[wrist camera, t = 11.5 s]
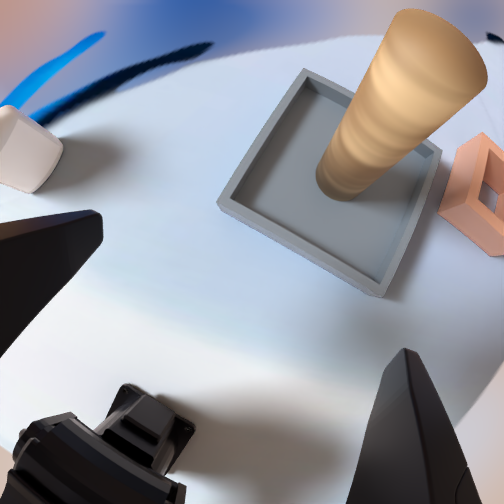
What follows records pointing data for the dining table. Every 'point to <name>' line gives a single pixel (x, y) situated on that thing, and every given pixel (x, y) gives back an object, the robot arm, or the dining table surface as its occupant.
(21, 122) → the eye dropper bottle
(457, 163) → the terracotta socket
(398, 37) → the oak dowel
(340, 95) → the tray
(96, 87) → the dining table surface
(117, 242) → the dining table surface
